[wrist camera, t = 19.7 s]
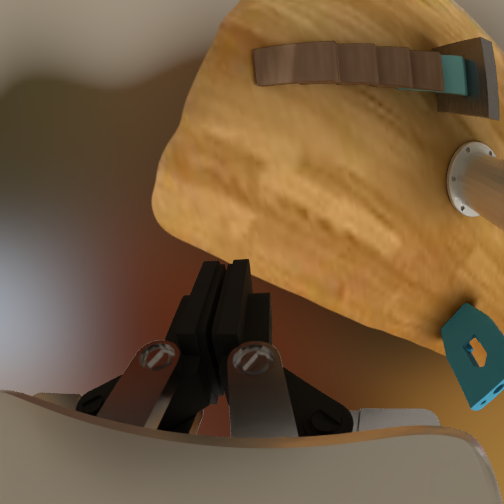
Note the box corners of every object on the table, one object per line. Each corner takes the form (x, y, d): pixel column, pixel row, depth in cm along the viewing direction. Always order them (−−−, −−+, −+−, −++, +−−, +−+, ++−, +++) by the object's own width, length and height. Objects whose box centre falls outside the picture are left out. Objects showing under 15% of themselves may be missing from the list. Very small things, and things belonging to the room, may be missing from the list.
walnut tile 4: (370, 53, 28) (441, 55, 22) (373, 86, 31) (444, 92, 24) (365, 50, 27) (439, 52, 21) (369, 85, 30) (443, 90, 23)
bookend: (442, 51, 26) (491, 42, 15) (447, 113, 30) (499, 120, 20) (431, 48, 26) (480, 36, 15) (437, 111, 31) (488, 117, 20)
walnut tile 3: (334, 50, 29) (409, 50, 23) (337, 84, 31) (413, 87, 26) (330, 47, 28) (408, 47, 22) (333, 83, 30) (412, 86, 24)
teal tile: (397, 88, 29) (465, 94, 22) (393, 54, 27) (461, 56, 20) (402, 89, 30) (467, 96, 23) (399, 57, 28) (464, 59, 20)
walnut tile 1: (258, 51, 30) (336, 44, 25) (262, 86, 32) (340, 81, 28) (253, 49, 28) (334, 40, 24) (257, 85, 31) (338, 80, 26)
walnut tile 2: (298, 49, 29) (375, 46, 24) (301, 84, 31) (379, 84, 27) (293, 47, 28) (374, 43, 23) (296, 83, 30) (378, 82, 25)
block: (471, 295, 44) (520, 362, 27) (479, 303, 45) (525, 367, 28) (433, 336, 49) (469, 408, 32) (443, 342, 50) (478, 411, 33)
